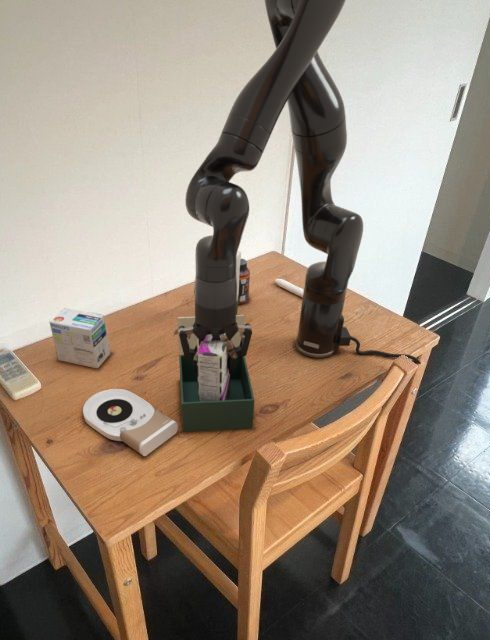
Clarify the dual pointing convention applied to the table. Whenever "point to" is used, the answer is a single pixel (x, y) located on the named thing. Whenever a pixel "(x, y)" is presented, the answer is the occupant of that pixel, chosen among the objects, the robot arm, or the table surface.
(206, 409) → the dark green open box
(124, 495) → the table surface
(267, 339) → the table surface
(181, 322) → the flap
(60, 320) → the light bulb box
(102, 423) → the record player
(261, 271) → the table surface
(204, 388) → the candy bar box
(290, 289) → the marker
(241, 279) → the supplement bottle
